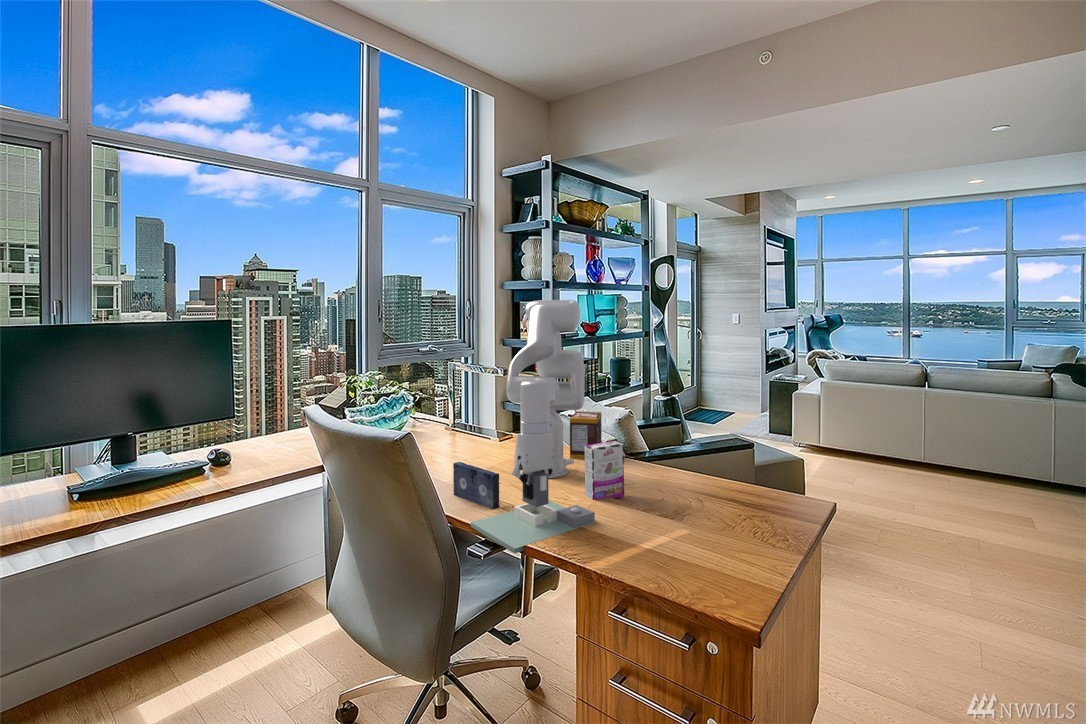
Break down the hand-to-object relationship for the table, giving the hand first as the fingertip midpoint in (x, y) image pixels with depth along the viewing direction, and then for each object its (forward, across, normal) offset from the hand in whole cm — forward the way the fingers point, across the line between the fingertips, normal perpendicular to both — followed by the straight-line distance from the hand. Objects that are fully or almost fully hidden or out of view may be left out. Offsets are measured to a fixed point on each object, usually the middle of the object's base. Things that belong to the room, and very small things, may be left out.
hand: (535, 495), depth 142 cm
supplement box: (+7, -57, -43) cm, 72 cm away
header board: (+7, +2, +2) cm, 8 cm away
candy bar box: (+7, -27, -2) cm, 28 cm away
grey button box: (+6, -7, +8) cm, 12 cm away
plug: (+2, 0, 0) cm, 2 cm away
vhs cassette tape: (+7, +4, -24) cm, 26 cm away
